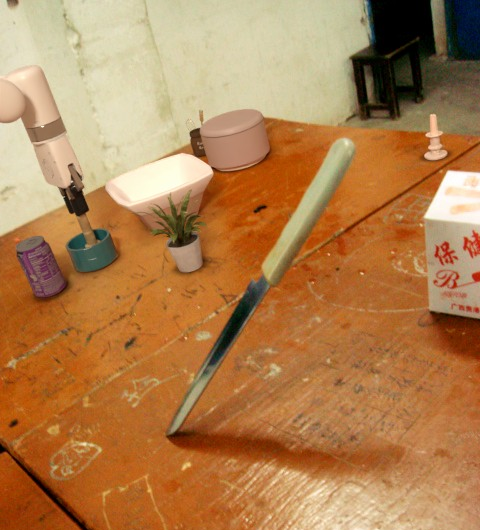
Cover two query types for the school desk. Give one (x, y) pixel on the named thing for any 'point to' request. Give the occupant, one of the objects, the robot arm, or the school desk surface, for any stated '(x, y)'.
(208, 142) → the container
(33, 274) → the beverage can
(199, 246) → the house plant
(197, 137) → the utensil holder
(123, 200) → the bowl
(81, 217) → the muddler
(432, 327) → the school desk surface
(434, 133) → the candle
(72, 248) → the mixing bowl
